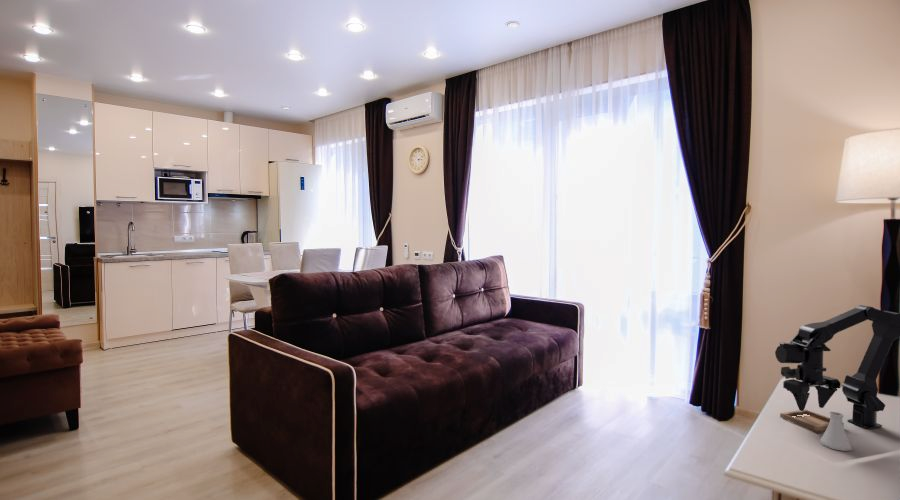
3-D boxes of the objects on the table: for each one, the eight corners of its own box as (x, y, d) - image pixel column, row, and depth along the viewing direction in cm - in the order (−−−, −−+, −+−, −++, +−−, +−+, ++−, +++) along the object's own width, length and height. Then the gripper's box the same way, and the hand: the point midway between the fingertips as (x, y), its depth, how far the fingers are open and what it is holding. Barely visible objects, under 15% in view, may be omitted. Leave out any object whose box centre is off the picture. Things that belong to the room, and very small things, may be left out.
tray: (805, 415, 159) (805, 409, 159) (843, 428, 147) (843, 422, 147) (780, 419, 156) (780, 413, 156) (817, 433, 144) (817, 427, 144)
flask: (858, 452, 131) (858, 419, 131) (830, 450, 132) (831, 417, 132) (841, 441, 138) (841, 409, 138) (814, 440, 139) (815, 408, 139)
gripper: (807, 355, 161) (806, 398, 162) (768, 359, 156) (767, 403, 156) (841, 363, 151) (841, 409, 151) (801, 368, 145) (800, 415, 146)
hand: (811, 409), depth 151 cm, fingers open, 9 cm apart
